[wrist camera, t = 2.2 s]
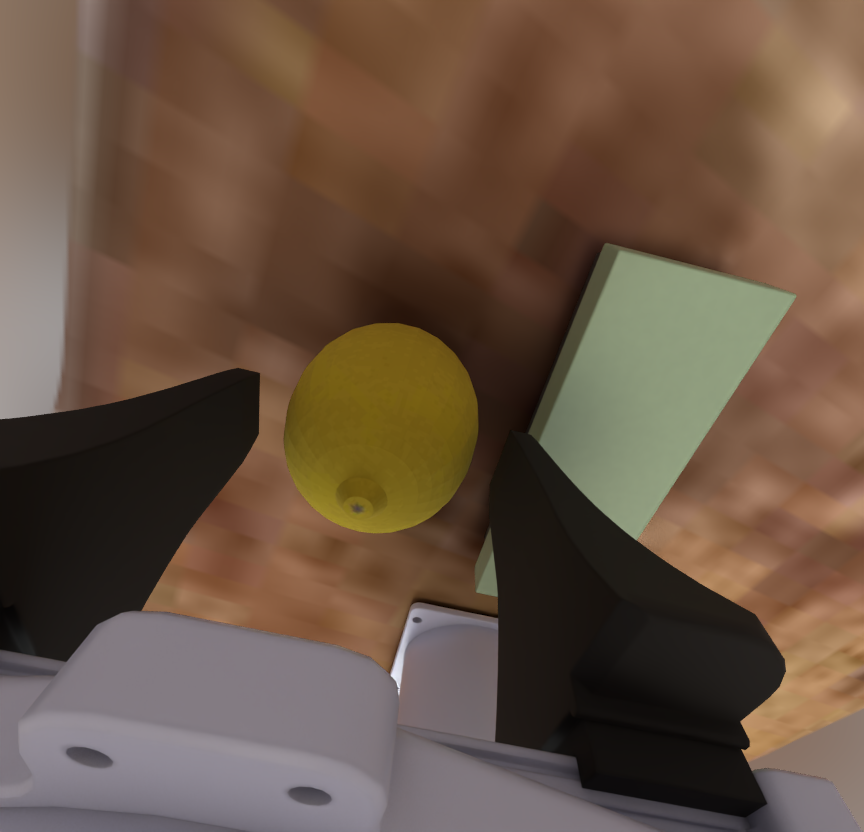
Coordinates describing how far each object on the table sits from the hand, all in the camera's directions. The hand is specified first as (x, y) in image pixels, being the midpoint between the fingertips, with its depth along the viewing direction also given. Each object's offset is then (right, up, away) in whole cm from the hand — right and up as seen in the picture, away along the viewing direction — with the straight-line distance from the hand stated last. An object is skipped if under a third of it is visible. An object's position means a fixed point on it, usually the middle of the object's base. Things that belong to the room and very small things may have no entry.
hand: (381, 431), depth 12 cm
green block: (+7, 0, +5) cm, 9 cm away
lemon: (0, +2, +4) cm, 5 cm away
